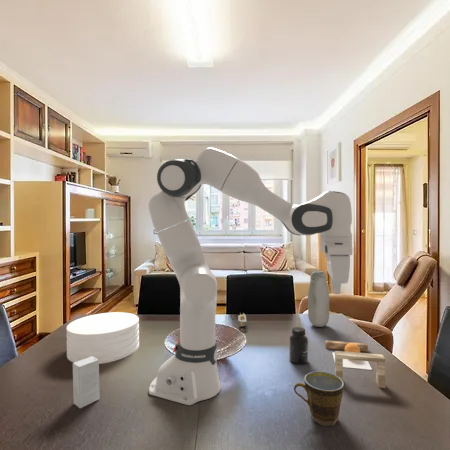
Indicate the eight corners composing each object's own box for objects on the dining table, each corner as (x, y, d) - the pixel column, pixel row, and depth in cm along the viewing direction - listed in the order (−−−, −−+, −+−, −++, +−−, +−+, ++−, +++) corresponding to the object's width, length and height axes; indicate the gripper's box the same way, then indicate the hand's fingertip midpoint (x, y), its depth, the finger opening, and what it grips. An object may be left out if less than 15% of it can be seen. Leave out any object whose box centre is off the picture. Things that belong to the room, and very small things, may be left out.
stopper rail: (325, 348, 124) (325, 342, 124) (325, 346, 126) (325, 340, 126) (367, 351, 120) (367, 345, 120) (366, 349, 122) (366, 343, 122)
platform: (230, 334, 142) (230, 320, 142) (230, 321, 160) (230, 309, 160) (255, 334, 142) (255, 320, 142) (253, 321, 160) (252, 309, 160)
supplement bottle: (308, 365, 109) (308, 332, 109) (289, 364, 110) (289, 331, 110) (307, 357, 116) (307, 326, 115) (289, 356, 117) (289, 325, 117)
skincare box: (92, 394, 92) (92, 355, 92) (100, 399, 89) (99, 359, 89) (72, 403, 87) (72, 362, 87) (79, 409, 84) (78, 367, 84)
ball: (346, 359, 112) (346, 343, 113) (343, 355, 118) (343, 340, 118) (361, 360, 111) (361, 345, 112) (358, 357, 117) (357, 342, 117)
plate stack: (52, 366, 111) (52, 335, 111) (85, 337, 139) (84, 312, 139) (128, 364, 112) (128, 333, 112) (145, 336, 140) (145, 311, 140)
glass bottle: (310, 321, 157) (309, 268, 157) (330, 324, 153) (330, 269, 152) (306, 327, 148) (305, 271, 148) (328, 330, 144) (327, 272, 144)
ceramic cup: (335, 405, 85) (334, 370, 85) (351, 430, 75) (350, 390, 75) (289, 407, 84) (289, 371, 84) (299, 431, 74) (299, 391, 74)
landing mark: (335, 366, 108) (335, 366, 108) (332, 352, 120) (332, 352, 120) (372, 370, 105) (372, 369, 105) (364, 355, 117) (364, 354, 117)
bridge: (385, 388, 94) (385, 358, 94) (336, 382, 97) (336, 354, 97) (382, 383, 96) (382, 354, 96) (335, 378, 100) (334, 350, 100)
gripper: (322, 243, 99) (322, 285, 100) (328, 249, 80) (328, 301, 80) (342, 243, 98) (342, 286, 98) (353, 249, 78) (354, 302, 78)
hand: (336, 292), depth 89 cm, fingers closed
